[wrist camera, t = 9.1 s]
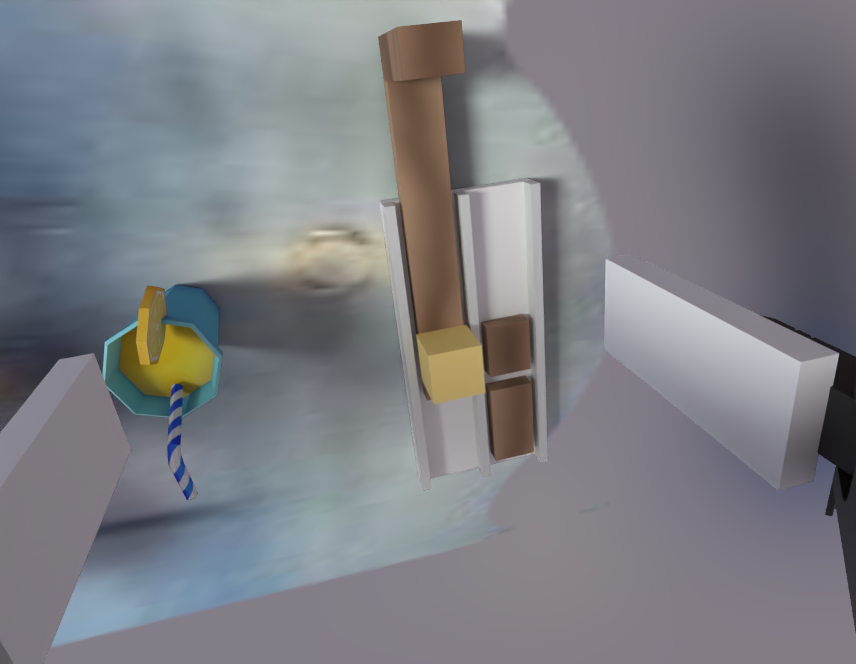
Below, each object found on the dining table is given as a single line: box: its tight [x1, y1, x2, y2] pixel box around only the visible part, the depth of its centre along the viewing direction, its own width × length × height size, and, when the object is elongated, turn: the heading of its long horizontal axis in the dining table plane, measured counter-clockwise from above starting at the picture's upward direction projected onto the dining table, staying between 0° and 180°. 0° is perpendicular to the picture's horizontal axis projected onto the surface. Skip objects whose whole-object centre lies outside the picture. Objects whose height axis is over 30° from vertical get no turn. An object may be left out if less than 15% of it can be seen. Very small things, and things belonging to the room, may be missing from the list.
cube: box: [416, 325, 485, 404], centre depth 50 cm, size 4×4×4 cm
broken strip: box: [481, 314, 534, 461], centre depth 56 cm, size 4×14×2 cm, turn 6°
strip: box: [378, 20, 465, 401], centre depth 45 cm, size 4×30×8 cm, turn 6°
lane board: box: [379, 178, 548, 491], centre depth 54 cm, size 13×28×3 cm, turn 6°
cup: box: [103, 285, 223, 500], centre depth 42 cm, size 14×8×15 cm, turn 8°
